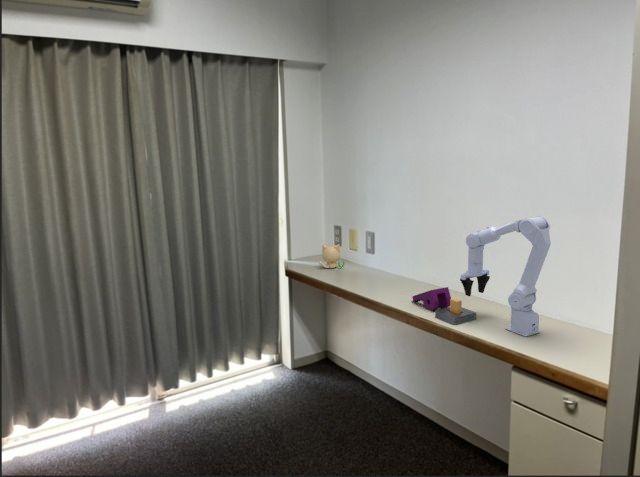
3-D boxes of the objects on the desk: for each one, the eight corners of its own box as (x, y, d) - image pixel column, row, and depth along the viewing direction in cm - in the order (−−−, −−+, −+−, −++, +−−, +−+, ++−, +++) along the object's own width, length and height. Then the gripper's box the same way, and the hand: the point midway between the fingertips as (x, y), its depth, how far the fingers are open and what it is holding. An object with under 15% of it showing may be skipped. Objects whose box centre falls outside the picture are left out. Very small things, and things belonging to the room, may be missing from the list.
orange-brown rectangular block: (461, 319, 193) (461, 300, 192) (456, 320, 192) (457, 301, 191) (454, 316, 197) (454, 298, 195) (449, 317, 196) (450, 299, 194)
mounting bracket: (413, 315, 216) (436, 309, 201) (408, 297, 218) (430, 290, 203) (429, 312, 220) (453, 305, 205) (424, 294, 222) (448, 287, 206)
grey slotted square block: (476, 319, 192) (476, 312, 192) (454, 325, 187) (454, 317, 186) (456, 312, 202) (456, 305, 201) (435, 317, 196) (435, 310, 196)
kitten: (345, 266, 290) (344, 242, 287) (343, 270, 280) (343, 245, 278) (321, 266, 292) (320, 242, 289) (319, 269, 282) (318, 245, 279)
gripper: (480, 258, 199) (479, 288, 201) (455, 262, 192) (454, 294, 194) (493, 260, 193) (492, 292, 195) (468, 265, 186) (467, 298, 188)
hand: (474, 293), depth 194 cm, fingers open, 7 cm apart
